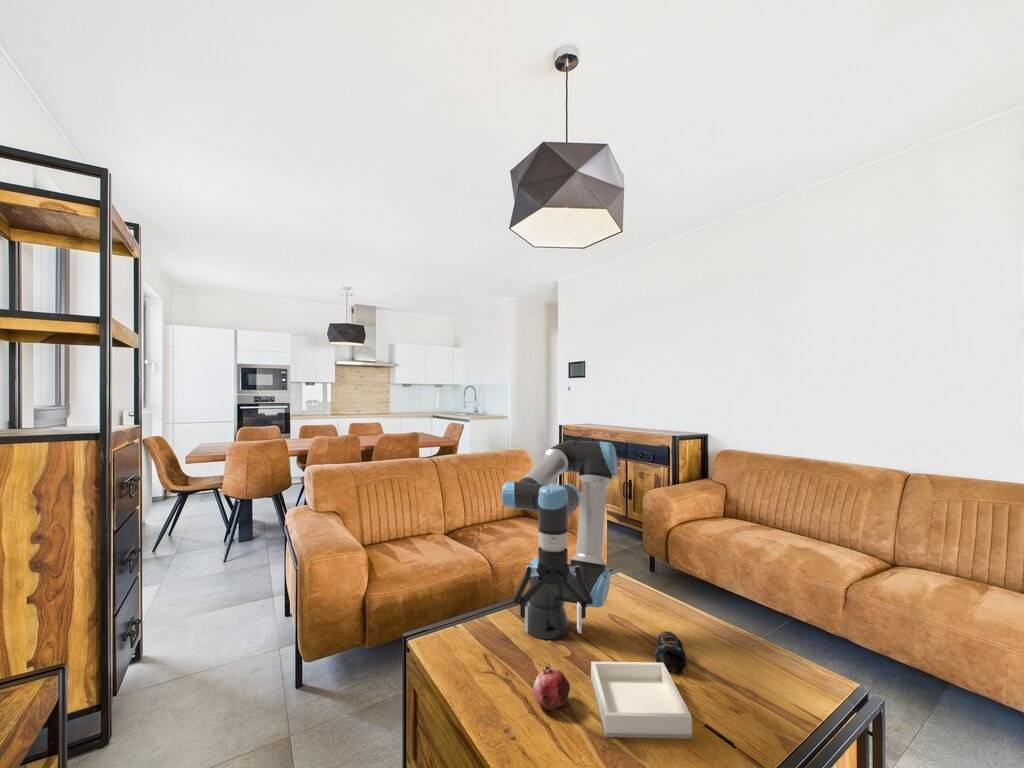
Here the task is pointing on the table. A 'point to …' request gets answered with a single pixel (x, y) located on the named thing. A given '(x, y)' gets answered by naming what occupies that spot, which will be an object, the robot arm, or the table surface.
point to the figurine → (670, 652)
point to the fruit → (551, 688)
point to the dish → (639, 701)
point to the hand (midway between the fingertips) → (552, 630)
